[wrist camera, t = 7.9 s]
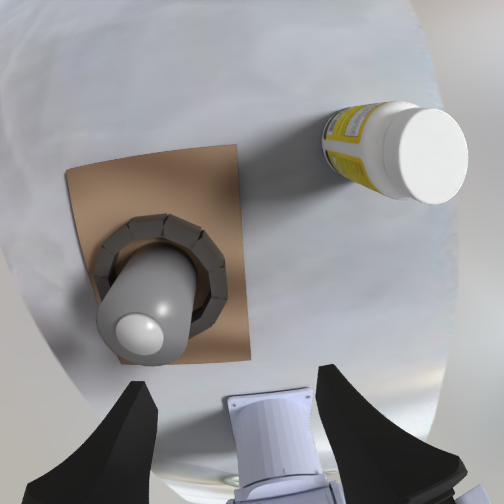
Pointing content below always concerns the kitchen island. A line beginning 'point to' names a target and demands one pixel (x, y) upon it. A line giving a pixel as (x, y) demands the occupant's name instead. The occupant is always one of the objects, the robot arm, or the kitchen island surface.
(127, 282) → the cap
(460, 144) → the supplement bottle
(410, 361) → the kitchen island surface
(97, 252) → the ring board
